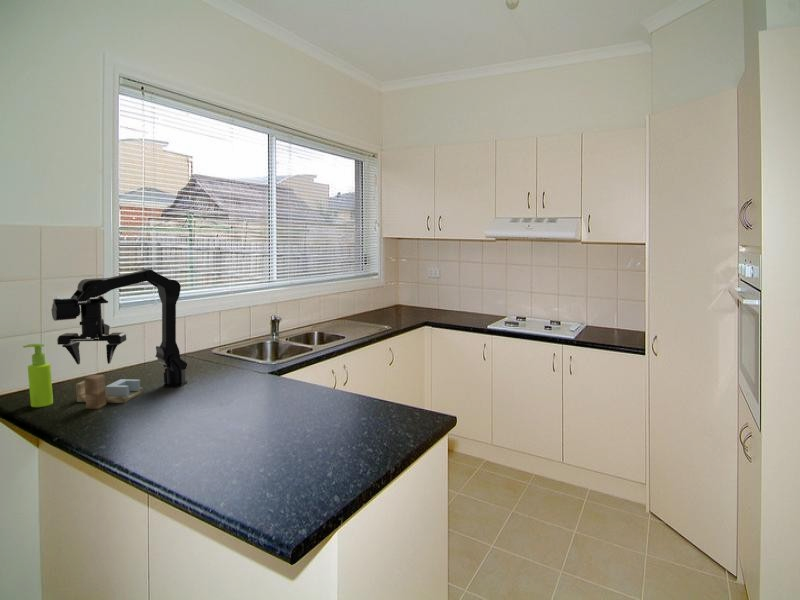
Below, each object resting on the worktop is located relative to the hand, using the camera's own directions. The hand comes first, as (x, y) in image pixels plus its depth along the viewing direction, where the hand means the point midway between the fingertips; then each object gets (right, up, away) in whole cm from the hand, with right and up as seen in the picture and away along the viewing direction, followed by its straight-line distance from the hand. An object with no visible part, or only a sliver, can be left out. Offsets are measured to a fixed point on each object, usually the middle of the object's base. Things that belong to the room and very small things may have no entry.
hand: (94, 363), depth 160 cm
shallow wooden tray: (+2, -12, +6) cm, 14 cm away
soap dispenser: (-16, -13, -3) cm, 21 cm away
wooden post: (+3, -13, -4) cm, 14 cm away
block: (+7, -11, +5) cm, 14 cm away
